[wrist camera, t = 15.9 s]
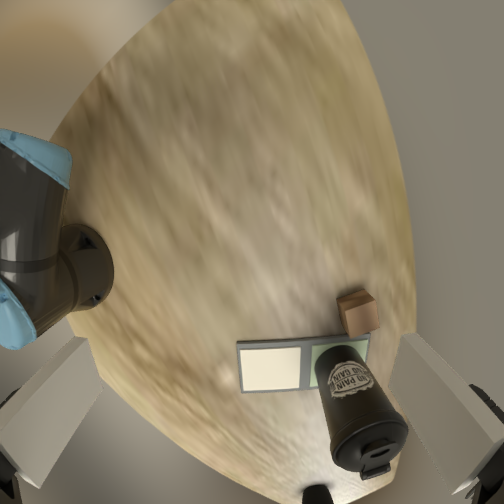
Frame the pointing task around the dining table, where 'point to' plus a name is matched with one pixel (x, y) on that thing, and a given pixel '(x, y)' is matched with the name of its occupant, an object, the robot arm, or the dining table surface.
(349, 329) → the walnut block
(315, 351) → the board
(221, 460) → the dining table surface
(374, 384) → the black travel mug
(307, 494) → the mug
